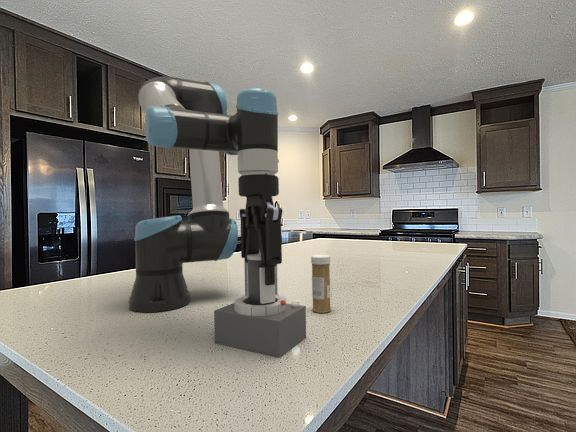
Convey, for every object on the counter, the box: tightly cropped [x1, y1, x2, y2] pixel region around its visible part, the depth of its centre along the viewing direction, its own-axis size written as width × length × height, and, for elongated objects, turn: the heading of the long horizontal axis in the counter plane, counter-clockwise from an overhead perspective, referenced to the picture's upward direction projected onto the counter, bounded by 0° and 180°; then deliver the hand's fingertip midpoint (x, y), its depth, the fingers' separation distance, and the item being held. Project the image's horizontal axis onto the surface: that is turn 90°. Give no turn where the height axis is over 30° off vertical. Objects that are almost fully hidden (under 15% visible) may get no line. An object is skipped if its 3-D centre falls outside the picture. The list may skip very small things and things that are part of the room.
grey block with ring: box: [213, 295, 307, 358], centre depth 64 cm, size 14×10×8 cm
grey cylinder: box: [247, 254, 276, 305], centre depth 64 cm, size 5×5×10 cm
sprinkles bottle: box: [310, 254, 332, 314], centre depth 82 cm, size 5×5×13 cm
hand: (260, 298), depth 64 cm, fingers closed on grey cylinder, 5 cm apart
